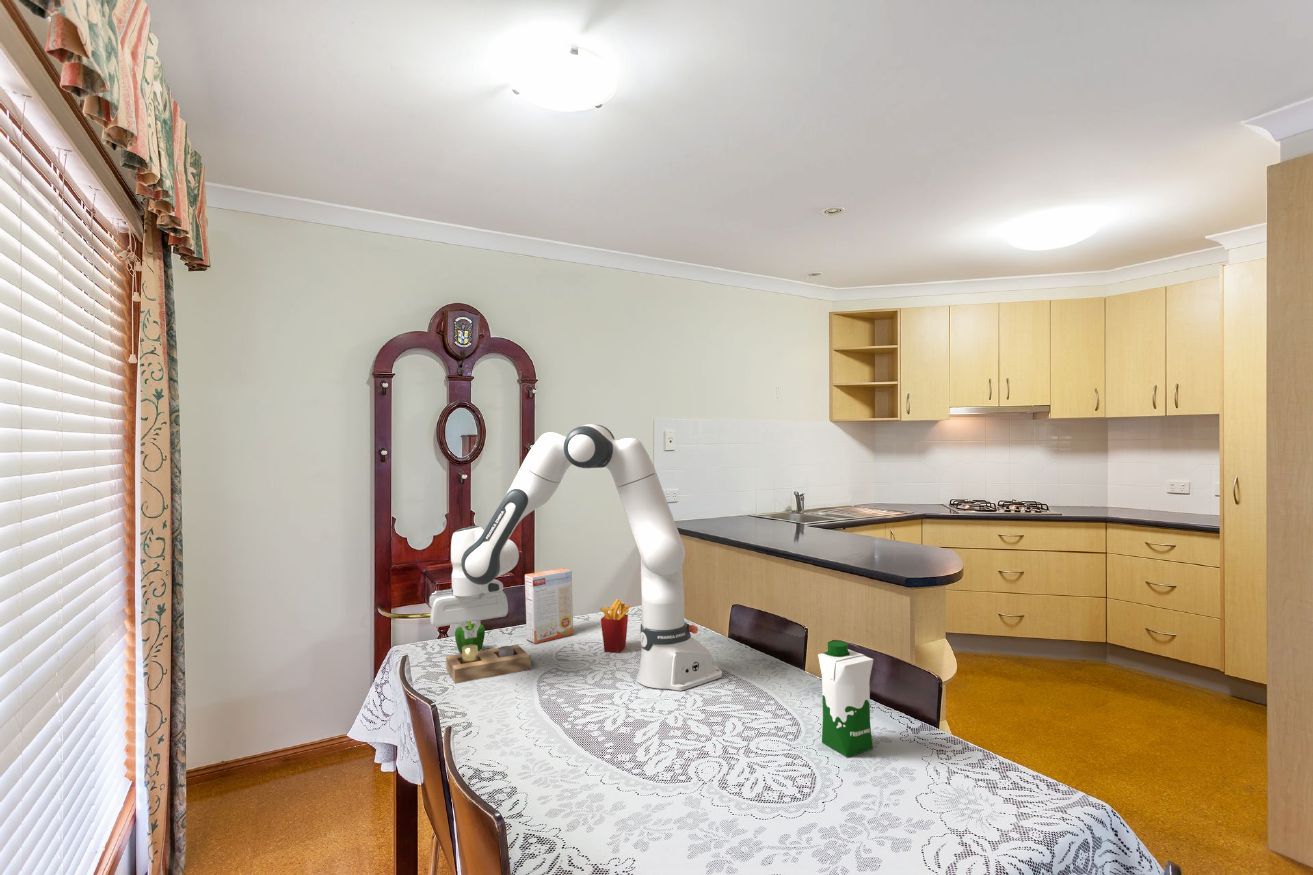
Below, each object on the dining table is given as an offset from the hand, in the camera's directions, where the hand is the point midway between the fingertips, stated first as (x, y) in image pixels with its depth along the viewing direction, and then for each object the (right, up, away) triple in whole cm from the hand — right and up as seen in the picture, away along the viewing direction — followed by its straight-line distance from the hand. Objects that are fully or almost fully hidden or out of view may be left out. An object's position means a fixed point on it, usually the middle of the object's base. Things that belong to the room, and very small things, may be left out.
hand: (470, 637), depth 178 cm
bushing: (0, -9, 0) cm, 9 cm away
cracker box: (+16, -9, +30) cm, 36 cm away
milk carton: (+88, -8, -46) cm, 100 cm away
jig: (+4, -9, +2) cm, 10 cm away
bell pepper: (-5, -10, +17) cm, 20 cm away
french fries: (+39, -9, +17) cm, 44 cm away
